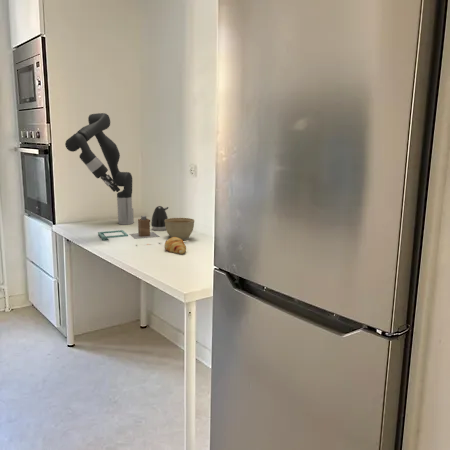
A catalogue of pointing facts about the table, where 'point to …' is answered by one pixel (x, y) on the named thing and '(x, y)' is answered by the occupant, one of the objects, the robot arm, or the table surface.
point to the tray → (111, 236)
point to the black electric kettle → (159, 218)
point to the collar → (144, 227)
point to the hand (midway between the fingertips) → (117, 190)
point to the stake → (136, 236)
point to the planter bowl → (179, 227)
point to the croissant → (175, 245)
